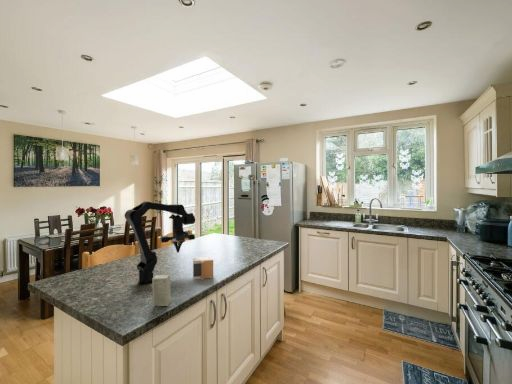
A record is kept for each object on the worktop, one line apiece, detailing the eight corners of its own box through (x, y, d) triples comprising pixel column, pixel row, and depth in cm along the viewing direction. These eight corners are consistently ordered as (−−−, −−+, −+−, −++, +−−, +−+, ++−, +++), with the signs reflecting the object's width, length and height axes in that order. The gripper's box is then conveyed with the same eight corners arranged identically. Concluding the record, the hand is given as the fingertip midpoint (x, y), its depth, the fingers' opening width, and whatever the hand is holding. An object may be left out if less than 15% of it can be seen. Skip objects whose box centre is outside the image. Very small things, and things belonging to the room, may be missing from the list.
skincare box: (170, 302, 106) (170, 274, 106) (167, 307, 102) (167, 278, 102) (156, 302, 106) (155, 274, 106) (152, 307, 102) (151, 278, 101)
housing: (193, 279, 133) (193, 261, 133) (192, 275, 139) (192, 258, 139) (212, 277, 136) (212, 259, 136) (211, 273, 142) (211, 256, 142)
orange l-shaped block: (201, 280, 130) (201, 262, 130) (201, 278, 134) (201, 260, 134) (213, 279, 132) (213, 261, 132) (213, 276, 136) (213, 259, 136)
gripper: (163, 229, 131) (163, 258, 132) (197, 226, 141) (197, 253, 141) (159, 226, 141) (160, 253, 141) (192, 224, 150) (192, 249, 151)
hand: (177, 252), depth 143 cm, fingers closed
